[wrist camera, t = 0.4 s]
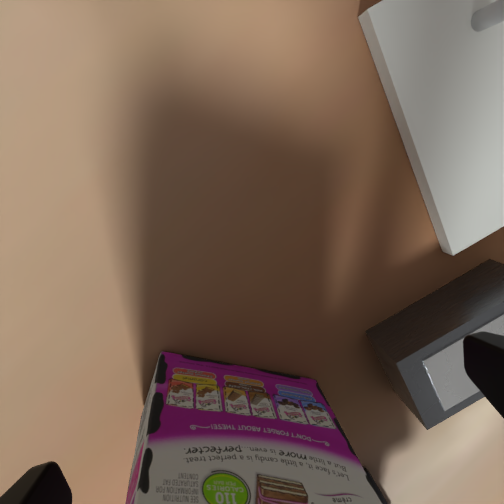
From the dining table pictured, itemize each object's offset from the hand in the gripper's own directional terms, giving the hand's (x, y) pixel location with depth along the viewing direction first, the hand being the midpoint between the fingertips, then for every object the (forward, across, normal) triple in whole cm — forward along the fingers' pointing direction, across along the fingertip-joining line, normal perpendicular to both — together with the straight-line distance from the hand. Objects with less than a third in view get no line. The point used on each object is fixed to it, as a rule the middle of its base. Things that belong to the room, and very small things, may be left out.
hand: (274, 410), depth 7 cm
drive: (+14, -14, +10) cm, 22 cm away
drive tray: (+13, -20, -6) cm, 25 cm away
